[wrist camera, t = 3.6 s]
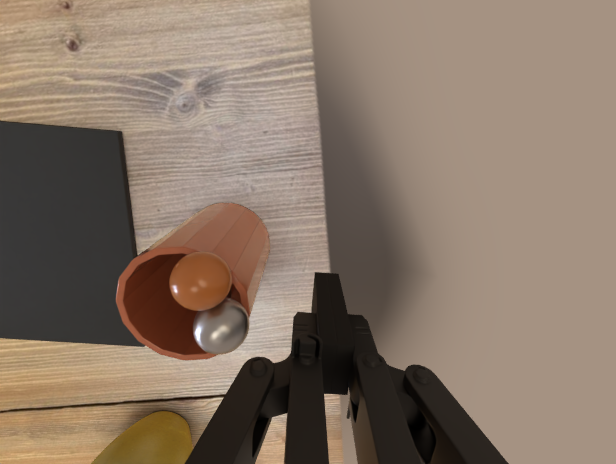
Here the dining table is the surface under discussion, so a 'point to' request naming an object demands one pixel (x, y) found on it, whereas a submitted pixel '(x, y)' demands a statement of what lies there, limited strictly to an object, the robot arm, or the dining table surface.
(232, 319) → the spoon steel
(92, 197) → the mat
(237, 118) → the dining table surface
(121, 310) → the spoon cup
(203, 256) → the brown piece
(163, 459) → the flower pot
